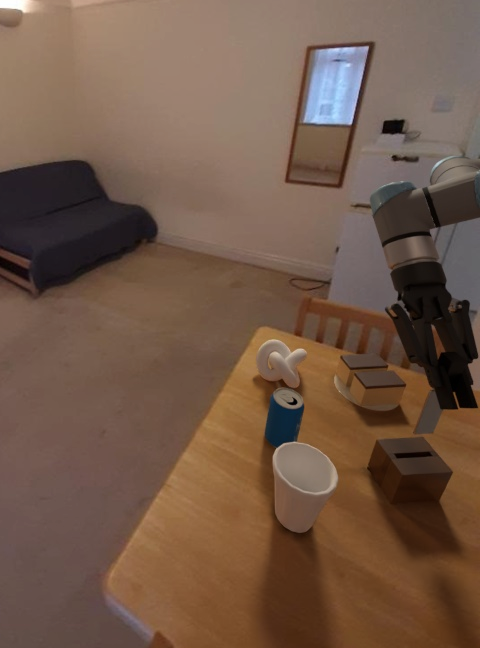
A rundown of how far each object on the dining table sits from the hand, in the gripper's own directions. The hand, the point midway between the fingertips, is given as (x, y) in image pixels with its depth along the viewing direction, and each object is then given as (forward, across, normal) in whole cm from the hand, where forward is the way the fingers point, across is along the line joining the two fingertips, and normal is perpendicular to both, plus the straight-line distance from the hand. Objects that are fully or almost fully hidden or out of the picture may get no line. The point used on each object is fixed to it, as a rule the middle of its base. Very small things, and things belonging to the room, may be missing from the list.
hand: (459, 408), depth 63 cm
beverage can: (+6, +19, -28) cm, 34 cm away
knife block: (+14, 0, -19) cm, 24 cm away
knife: (+4, 0, -10) cm, 11 cm away
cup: (+17, +23, -16) cm, 33 cm away
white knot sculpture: (-8, +12, -41) cm, 43 cm away
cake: (-3, -7, -35) cm, 36 cm away
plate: (-3, -7, -36) cm, 37 cm away
